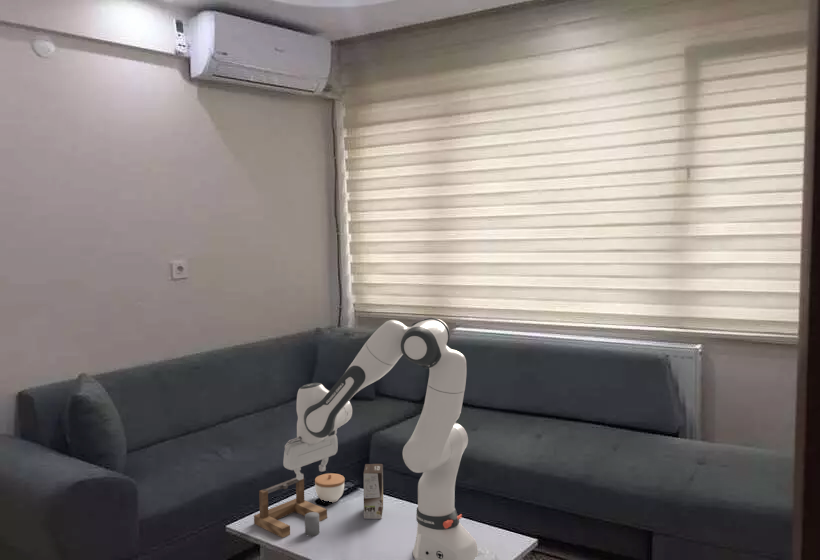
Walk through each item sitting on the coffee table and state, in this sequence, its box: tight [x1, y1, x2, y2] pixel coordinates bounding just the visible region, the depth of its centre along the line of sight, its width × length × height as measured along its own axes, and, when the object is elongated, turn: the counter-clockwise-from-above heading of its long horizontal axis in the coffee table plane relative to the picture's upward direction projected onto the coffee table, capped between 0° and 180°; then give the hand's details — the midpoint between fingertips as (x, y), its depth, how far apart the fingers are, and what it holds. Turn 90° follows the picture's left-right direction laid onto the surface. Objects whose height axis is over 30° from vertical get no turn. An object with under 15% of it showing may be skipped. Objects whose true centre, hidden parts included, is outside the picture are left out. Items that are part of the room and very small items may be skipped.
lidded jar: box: [314, 472, 346, 504], centre depth 249 cm, size 11×11×9 cm
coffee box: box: [363, 463, 384, 520], centre depth 237 cm, size 9×6×16 cm
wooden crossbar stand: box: [253, 477, 328, 539], centre depth 231 cm, size 15×19×12 cm
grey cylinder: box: [304, 512, 320, 537], centre depth 223 cm, size 5×5×6 cm
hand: (311, 475), depth 221 cm, fingers open, 8 cm apart
